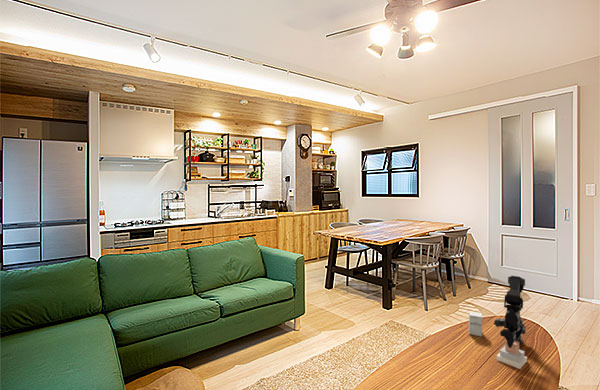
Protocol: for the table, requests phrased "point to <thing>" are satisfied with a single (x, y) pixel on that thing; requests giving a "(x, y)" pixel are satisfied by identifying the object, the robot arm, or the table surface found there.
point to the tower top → (512, 355)
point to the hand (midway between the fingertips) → (512, 345)
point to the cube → (514, 347)
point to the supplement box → (475, 323)
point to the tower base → (511, 362)
